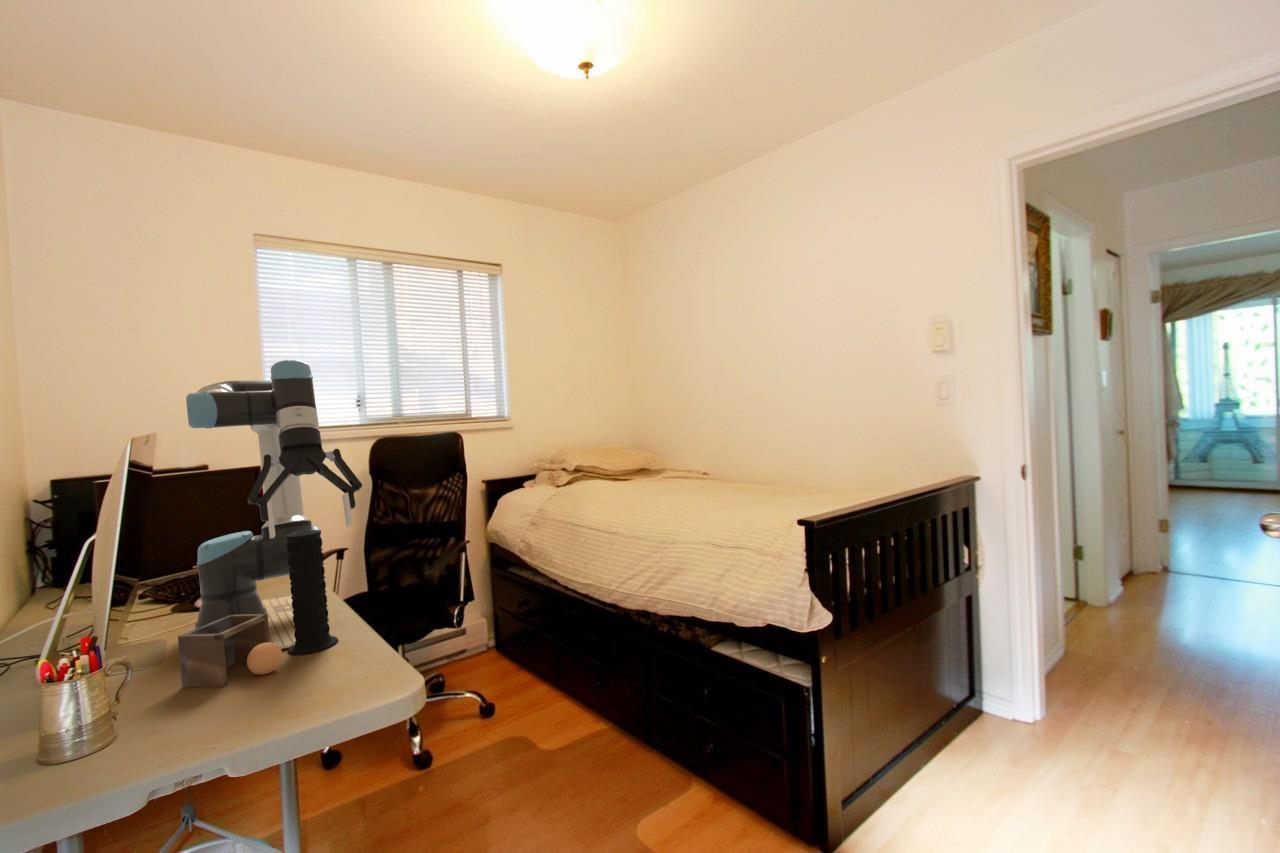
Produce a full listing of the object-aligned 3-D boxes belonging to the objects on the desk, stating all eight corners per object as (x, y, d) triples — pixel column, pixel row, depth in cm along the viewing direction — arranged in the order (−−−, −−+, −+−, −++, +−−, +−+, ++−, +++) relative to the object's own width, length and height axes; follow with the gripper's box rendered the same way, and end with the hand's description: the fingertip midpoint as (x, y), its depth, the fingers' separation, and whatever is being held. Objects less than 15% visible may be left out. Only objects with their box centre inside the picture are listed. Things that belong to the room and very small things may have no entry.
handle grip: (320, 654, 125) (347, 636, 135) (309, 532, 124) (338, 523, 134) (276, 656, 126) (307, 638, 136) (266, 534, 125) (297, 525, 135)
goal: (234, 660, 125) (230, 614, 125) (271, 660, 123) (267, 613, 123) (182, 687, 113) (177, 636, 113) (223, 687, 112) (218, 635, 111)
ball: (264, 666, 120) (262, 638, 120) (290, 666, 119) (288, 637, 119) (240, 680, 114) (238, 649, 114) (267, 679, 113) (265, 649, 113)
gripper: (226, 429, 111) (237, 538, 106) (366, 421, 126) (382, 516, 121) (226, 442, 117) (236, 546, 112) (360, 433, 132) (375, 524, 127)
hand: (312, 530), depth 117 cm, fingers open, 13 cm apart
